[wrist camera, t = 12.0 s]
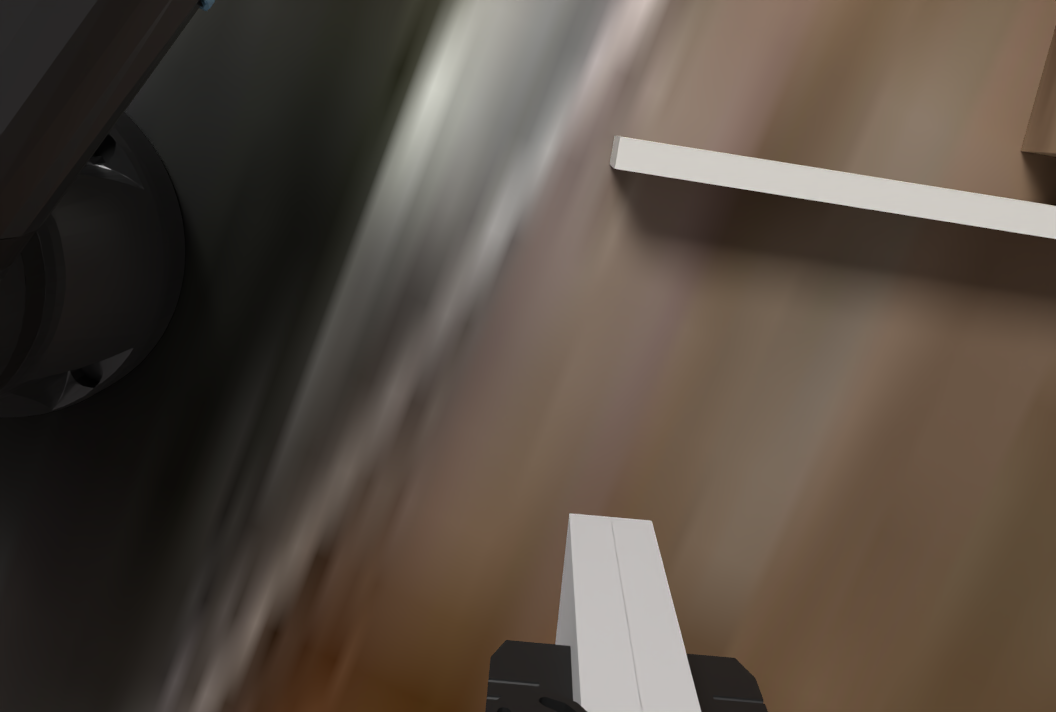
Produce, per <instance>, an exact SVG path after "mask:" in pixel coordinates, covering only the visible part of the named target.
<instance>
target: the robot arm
mask: <svg viewBox="0 0 1056 712" xmlns="http://www.w3.org/2000/svg"><path fill="white" fill-rule="evenodd" d="M214 2H215V0H0V417H1V418H9V417H26V416H34V415H40V414H45V413H48V412H52V411H56V410H60V409H63V408H66V407H69V406H72V405H74V404H77V403H79V402H81V401H84V400H85V399H87V398H89V397H91V396H93V395H95V394H96V393H98V392H100V391H102V390H103V389H105V388H107V387H109V386H110V385H112V384H114V383H115V382H117V381H118V380H120V379H121V378H123V377H124V376H126V375H127V374H128V373H129V372H131V371H132V370H133V369H134V368H135V367H136V366H138V365H139V364H140V363H141V362H142V361H143V360H144V359H145V358H146V357H147V355H148V354H149V353H150V352H151V351H152V349H153V348H154V347H155V346H156V344H157V343H158V341H159V340H160V338H161V337H162V335H163V334H164V332H165V330H166V328H167V326H168V325H169V322H170V320H171V318H172V316H173V314H174V311H175V308H176V305H177V303H178V299H179V296H180V292H181V288H182V283H183V277H184V268H185V236H184V227H183V221H182V216H181V211H180V207H179V203H178V199H177V196H176V194H175V191H174V188H173V185H172V183H171V180H170V178H169V175H168V173H167V171H166V169H165V167H164V165H163V163H162V161H161V160H160V158H159V156H158V155H157V153H156V151H155V149H154V148H153V147H152V145H151V144H150V142H149V141H148V139H147V138H146V136H145V135H144V134H143V133H142V131H141V130H140V129H139V128H138V126H137V125H136V124H135V123H134V122H133V121H132V120H131V119H130V118H129V117H128V116H127V115H126V114H125V113H124V111H125V110H126V108H127V107H128V106H129V104H130V103H131V101H132V100H133V99H134V97H135V96H136V94H137V93H138V92H139V90H140V89H141V88H142V86H143V85H144V83H145V82H146V81H147V79H148V78H149V76H150V75H151V74H152V72H153V71H154V69H155V68H156V67H157V65H158V64H159V63H160V61H161V60H162V58H163V57H164V56H165V54H166V53H167V51H168V50H169V49H170V47H171V46H172V45H173V43H174V42H175V40H176V39H177V38H178V36H179V35H180V33H181V32H182V31H183V29H184V28H185V26H186V25H187V24H188V22H189V21H190V20H191V18H192V17H193V15H194V14H195V13H196V11H197V10H198V8H201V9H202V10H204V11H207V10H208V9H209V8H210V7H211V6H212V5H213V3H214ZM486 712H768V711H767V708H766V706H765V704H763V698H762V695H761V692H760V690H759V687H758V684H757V681H756V679H755V677H754V676H753V675H752V674H751V673H750V672H749V671H747V670H746V669H745V668H744V667H743V666H742V665H741V664H740V663H739V662H738V661H737V660H736V659H735V658H728V657H717V656H706V655H694V654H686V651H685V647H684V643H683V639H682V636H681V632H680V628H679V624H678V620H677V616H676V613H675V609H674V605H673V601H672V597H671V593H670V589H669V586H668V582H667V578H666V574H665V570H664V566H663V563H662V559H661V555H660V551H659V547H658V543H657V539H656V536H655V532H654V528H653V524H652V521H648V520H637V519H626V518H615V517H604V516H593V515H582V514H570V513H569V522H568V531H567V541H566V550H565V559H564V569H563V578H562V588H561V597H560V606H559V616H558V625H557V634H556V644H543V643H532V642H521V641H510V640H506V641H505V642H504V643H503V644H502V645H501V646H500V648H499V649H498V650H497V651H496V652H495V653H494V654H493V655H492V656H491V661H490V671H489V681H488V691H487V701H486Z"/></svg>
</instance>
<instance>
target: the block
mask: <svg viewBox="0 0 1056 712" xmlns="http://www.w3.org/2000/svg"><path fill="white" fill-rule="evenodd" d="M1021 151H1024V152H1029V153H1035V154H1041V155H1047V156H1052V157H1056V27H1055V31H1054V34H1053V38H1052V41H1051V45H1050V48H1049V52H1048V55H1047V59H1046V63H1045V66H1044V70H1043V73H1042V77H1041V80H1040V84H1039V88H1038V91H1037V95H1036V98H1035V102H1034V105H1033V109H1032V113H1031V116H1030V120H1029V123H1028V127H1027V130H1026V134H1025V138H1024V141H1023V145H1022V148H1021Z"/></svg>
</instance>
